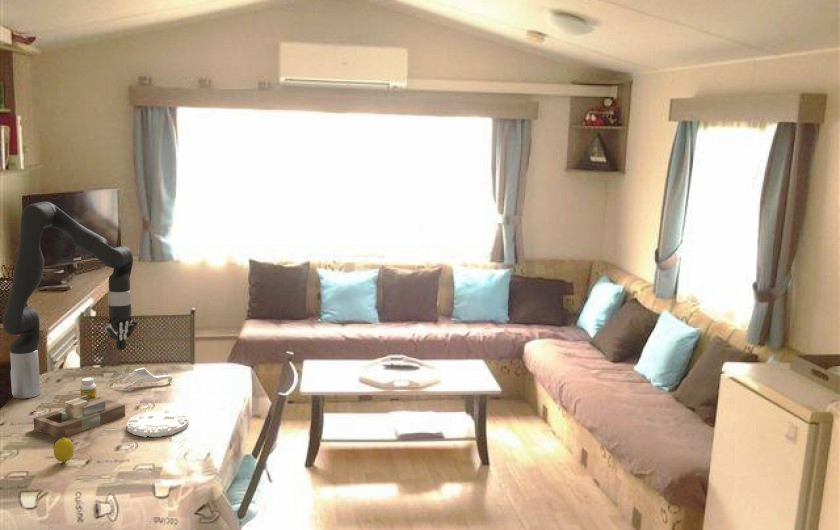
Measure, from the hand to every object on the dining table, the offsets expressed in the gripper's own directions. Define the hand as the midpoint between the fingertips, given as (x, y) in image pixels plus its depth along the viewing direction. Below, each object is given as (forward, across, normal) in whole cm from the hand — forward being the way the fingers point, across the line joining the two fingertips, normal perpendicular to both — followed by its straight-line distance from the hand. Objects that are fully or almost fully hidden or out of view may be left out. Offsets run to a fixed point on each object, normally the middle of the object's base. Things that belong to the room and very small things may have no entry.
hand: (121, 349), depth 270 cm
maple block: (+17, +20, +2) cm, 26 cm away
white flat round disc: (+22, +6, +26) cm, 34 cm away
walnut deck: (+21, +18, +2) cm, 28 cm away
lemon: (+21, +41, +26) cm, 53 cm away
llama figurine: (+22, -20, -11) cm, 31 cm away
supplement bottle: (+22, +6, -11) cm, 25 cm away
